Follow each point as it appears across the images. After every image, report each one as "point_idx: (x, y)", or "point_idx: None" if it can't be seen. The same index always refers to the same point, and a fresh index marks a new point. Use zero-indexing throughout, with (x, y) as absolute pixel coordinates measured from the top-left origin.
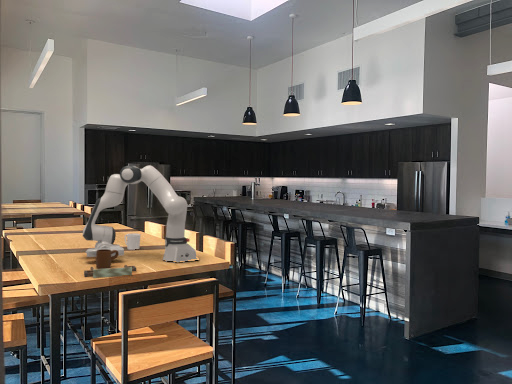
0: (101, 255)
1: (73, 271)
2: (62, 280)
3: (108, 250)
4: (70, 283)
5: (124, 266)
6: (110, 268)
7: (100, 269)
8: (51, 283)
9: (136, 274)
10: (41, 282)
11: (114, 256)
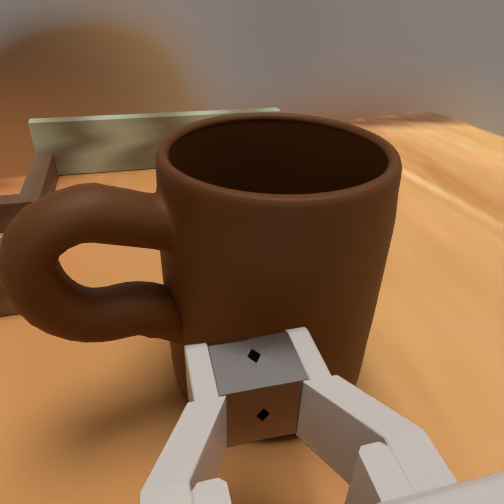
0: (287, 163)
1: (486, 249)
2: (410, 141)
3: (204, 199)
4: (348, 121)
5: None
6: (177, 115)
7: (237, 110)
8: (428, 124)
9: (2, 182)
10: (482, 132)
11: (99, 287)
